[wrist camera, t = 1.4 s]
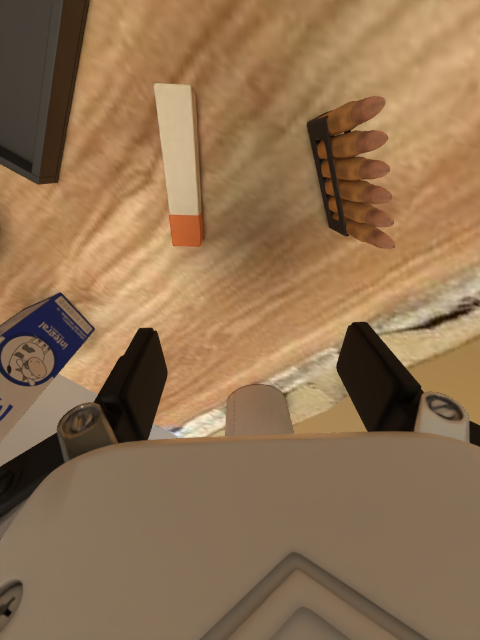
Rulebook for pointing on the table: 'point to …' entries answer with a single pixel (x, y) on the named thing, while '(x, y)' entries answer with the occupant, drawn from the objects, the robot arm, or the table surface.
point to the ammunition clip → (351, 171)
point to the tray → (37, 82)
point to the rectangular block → (180, 161)
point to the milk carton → (36, 353)
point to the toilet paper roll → (257, 412)
